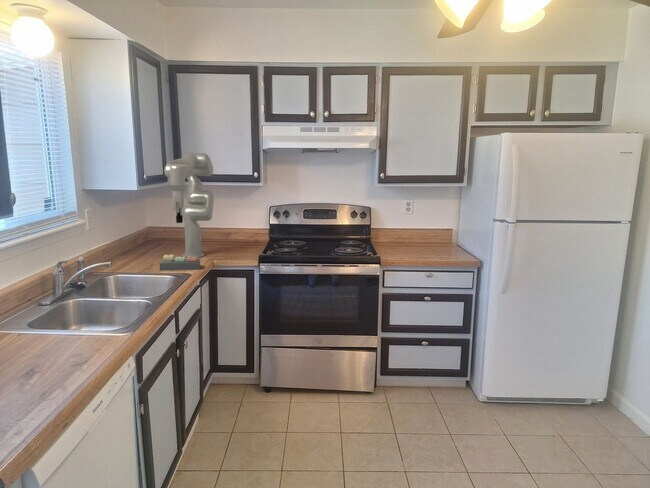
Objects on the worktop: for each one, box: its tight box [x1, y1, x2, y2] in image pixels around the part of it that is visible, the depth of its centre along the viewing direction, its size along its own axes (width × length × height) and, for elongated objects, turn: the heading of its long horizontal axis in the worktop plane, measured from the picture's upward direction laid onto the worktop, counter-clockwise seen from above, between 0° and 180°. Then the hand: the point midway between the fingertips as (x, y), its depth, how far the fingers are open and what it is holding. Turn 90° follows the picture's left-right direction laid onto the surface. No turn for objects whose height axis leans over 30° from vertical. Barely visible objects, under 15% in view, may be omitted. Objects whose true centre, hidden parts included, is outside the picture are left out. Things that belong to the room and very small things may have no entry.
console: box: [159, 258, 201, 272], centre depth 230 cm, size 20×9×4 cm, turn 103°
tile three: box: [186, 256, 198, 262], centre depth 231 cm, size 5×5×5 cm
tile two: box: [174, 256, 186, 262], centre depth 230 cm, size 5×5×5 cm
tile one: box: [162, 254, 175, 262], centre depth 229 cm, size 5×5×5 cm
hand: (179, 222), depth 230 cm, fingers closed
